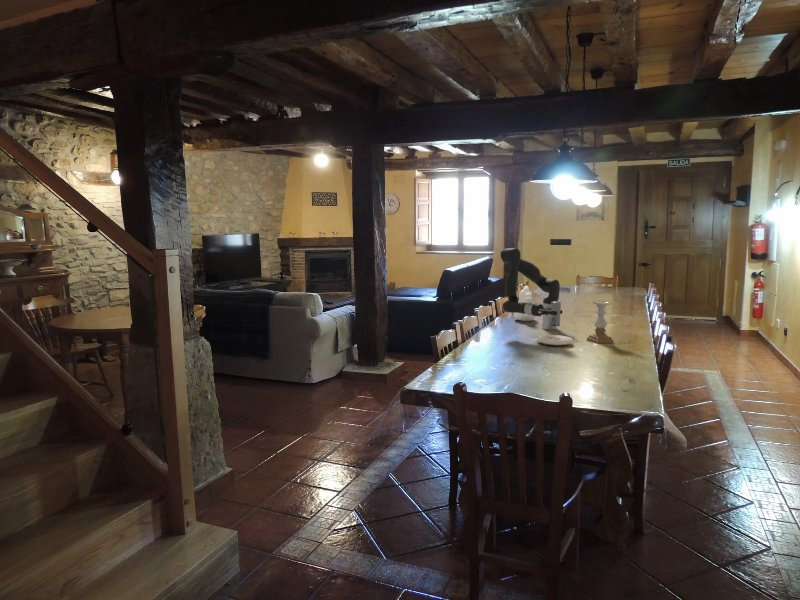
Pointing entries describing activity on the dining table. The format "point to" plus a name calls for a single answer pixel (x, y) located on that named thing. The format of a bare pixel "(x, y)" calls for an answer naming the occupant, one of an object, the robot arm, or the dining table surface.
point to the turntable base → (554, 345)
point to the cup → (555, 318)
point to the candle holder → (600, 325)
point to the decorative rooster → (527, 298)
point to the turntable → (554, 339)
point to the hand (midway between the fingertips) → (559, 312)
